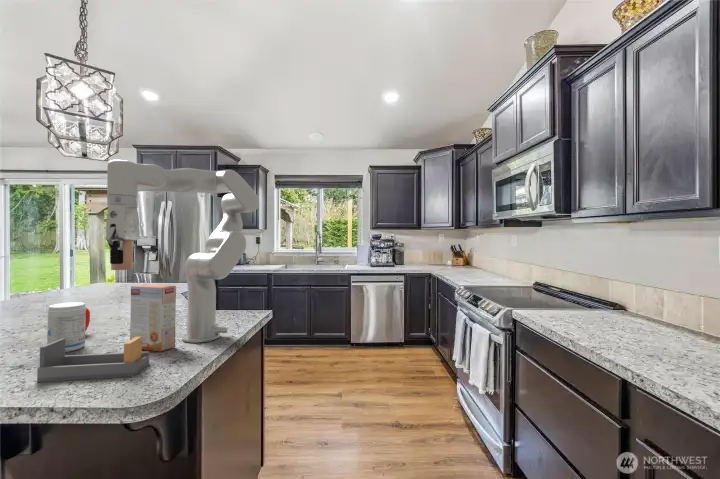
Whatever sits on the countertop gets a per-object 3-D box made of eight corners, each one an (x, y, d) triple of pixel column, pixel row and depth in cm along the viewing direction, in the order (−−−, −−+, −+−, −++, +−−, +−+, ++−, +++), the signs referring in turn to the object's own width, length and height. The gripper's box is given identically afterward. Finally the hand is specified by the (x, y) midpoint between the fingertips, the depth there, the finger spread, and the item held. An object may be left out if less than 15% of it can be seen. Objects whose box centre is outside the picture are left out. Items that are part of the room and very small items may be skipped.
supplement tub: (44, 349, 112) (45, 304, 112) (81, 343, 119) (82, 300, 119) (50, 355, 106) (50, 308, 106) (88, 348, 113) (89, 304, 113)
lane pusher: (141, 360, 98) (141, 336, 98) (129, 369, 91) (130, 343, 91) (135, 361, 98) (136, 336, 98) (123, 370, 91) (124, 343, 91)
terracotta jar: (137, 268, 105) (137, 235, 105) (127, 270, 100) (127, 235, 100) (117, 268, 104) (117, 235, 104) (105, 270, 99) (105, 235, 99)
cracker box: (176, 347, 115) (177, 285, 115) (160, 352, 109) (161, 287, 110) (145, 343, 120) (146, 283, 120) (129, 348, 114) (129, 285, 114)
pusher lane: (149, 363, 100) (149, 334, 100) (133, 376, 90) (134, 343, 90) (62, 368, 95) (63, 337, 95) (37, 382, 86) (37, 348, 86)
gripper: (120, 199, 94) (120, 265, 94) (149, 205, 111) (149, 261, 111) (90, 198, 93) (90, 265, 93) (124, 205, 110) (124, 261, 110)
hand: (122, 262), depth 102 cm, fingers closed on terracotta jar, 5 cm apart
